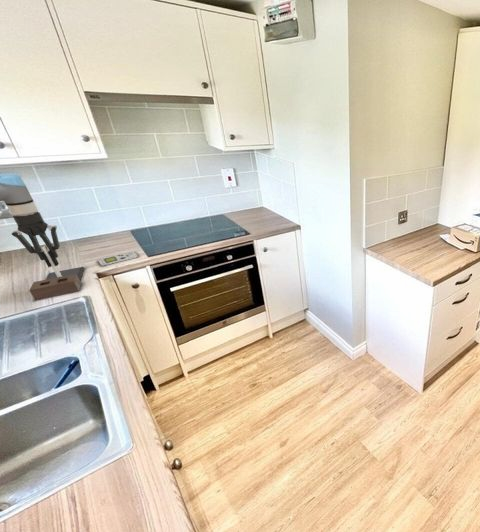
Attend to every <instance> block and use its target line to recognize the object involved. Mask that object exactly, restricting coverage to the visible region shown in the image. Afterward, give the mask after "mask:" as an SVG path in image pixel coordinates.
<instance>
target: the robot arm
mask: <svg viewBox="0 0 480 532" xmlns="http://www.w3.org/2000/svg"><path fill="white" fill-rule="evenodd" d="M0 202H4V204H5V206H6V208H7V209H8V211H9V213H10V215H12V218H13V220H14V221H15V223H16V226H17V229H15V230H13V231H12V232H11V236H13V237H15V238H16V239H17V240H18V241H19V242H20V243H21V244H22V245H23V247H24V249H26V250H27V251H28V253H29V254H36V255H37V256H38V257H39V259H40V261H44V262H45V264H46V265H47V268H52V266H51V264H50V263H49V261H48V259H47V257H46V255H45V253H44V252H43V250H42V248H41V245H40V242H39V240H38V238H37V236H39V237H40V239H41V240H42V241H43V243H44V244H45V246H46V247H47V249H48V251H49V252H48V253H49V255H50V257H51V259H52V261H53V263H54V265H55V266H57V267H58V266H59V264H60V262H59V260H58V259H57V258H59V254H58V253H57V250H58V249H60V246H61V245H60V242H59V237H58V234H57V229H58V226H57V225H49V224H48V223H47V222H45V220H44V218H43V216H42V214H41V212H39V209H38V207H37V204H36V203H35V201H34V199H33V197H32V195H31V192H30V191H29V189H28V187H27V185H26V184H25V182H24V179H22V176H21V175H20V174H17V173H14V172H9V173H0ZM47 229H48V231H49V232H50V236H51V239H52V241H51V239H49V237H48V235H47V233H46V232H47ZM23 234H24V235H27V236H28V238H29V239H30V241H31V243H32V244H31V243H30V242H29V241H28V240H27V238H26V237H25V236H24V235H23Z"/></svg>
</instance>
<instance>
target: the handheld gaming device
mask: <svg viewBox="0 0 480 532" xmlns="http://www.w3.org/2000/svg"><path fill="white" fill-rule="evenodd" d="M138 257H139V256H138V255H137V253H136V252H135V251H129V252H125V253H120V254H117V255H111V256H108V257H103V258H99V259H98V260H97V261H98V263H99V265H100V266H101V267H104V266H108V265H113V264H116V263H120V262H124V261H127V260H132V259H135V258H138Z"/></svg>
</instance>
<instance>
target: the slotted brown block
mask: <svg viewBox="0 0 480 532" xmlns="http://www.w3.org/2000/svg"><path fill="white" fill-rule="evenodd" d="M81 286H82V282H81V280H79V278H78V276H77V274H73V275H68V276H62V277H57V278H52V279H47V280H46V279H43V280H37V281H34V282H33V283H31V286H30V288H29V289H28V291H29V293H30V295H31V296H32V298H33V299H34V301H40V300H44V299H49V298H55V297H58V296H63V295H68V294H72V293H76V292H80V289H81Z"/></svg>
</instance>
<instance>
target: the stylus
mask: <svg viewBox="0 0 480 532" xmlns="http://www.w3.org/2000/svg"><path fill="white" fill-rule="evenodd" d="M40 247H41V250H42V252H44V253H45V255H46V257H47V259H48V261H49V263H50V264H51V269H52V270H53V272H55V274H56V275H57V277H62V275H61V273H60V271H61V270H60V269H59V267H58V266H55V265H54V263H53V261H52V259H51V257H50V255H49V253H48V252H49V249H48V247H47V246H46V245H40Z"/></svg>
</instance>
